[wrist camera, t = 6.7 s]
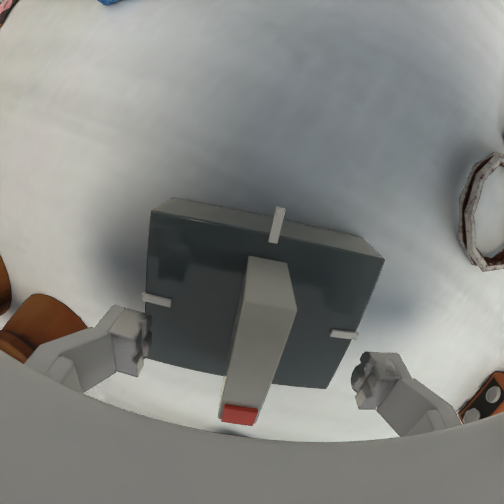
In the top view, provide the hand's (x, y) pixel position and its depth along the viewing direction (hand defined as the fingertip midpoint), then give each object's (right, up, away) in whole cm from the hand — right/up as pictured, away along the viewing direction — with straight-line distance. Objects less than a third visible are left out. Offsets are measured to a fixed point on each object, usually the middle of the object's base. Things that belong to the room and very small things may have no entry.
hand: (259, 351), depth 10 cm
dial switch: (0, +2, +5) cm, 6 cm away
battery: (+32, -15, +8) cm, 37 cm away
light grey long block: (0, +1, +2) cm, 2 cm away
